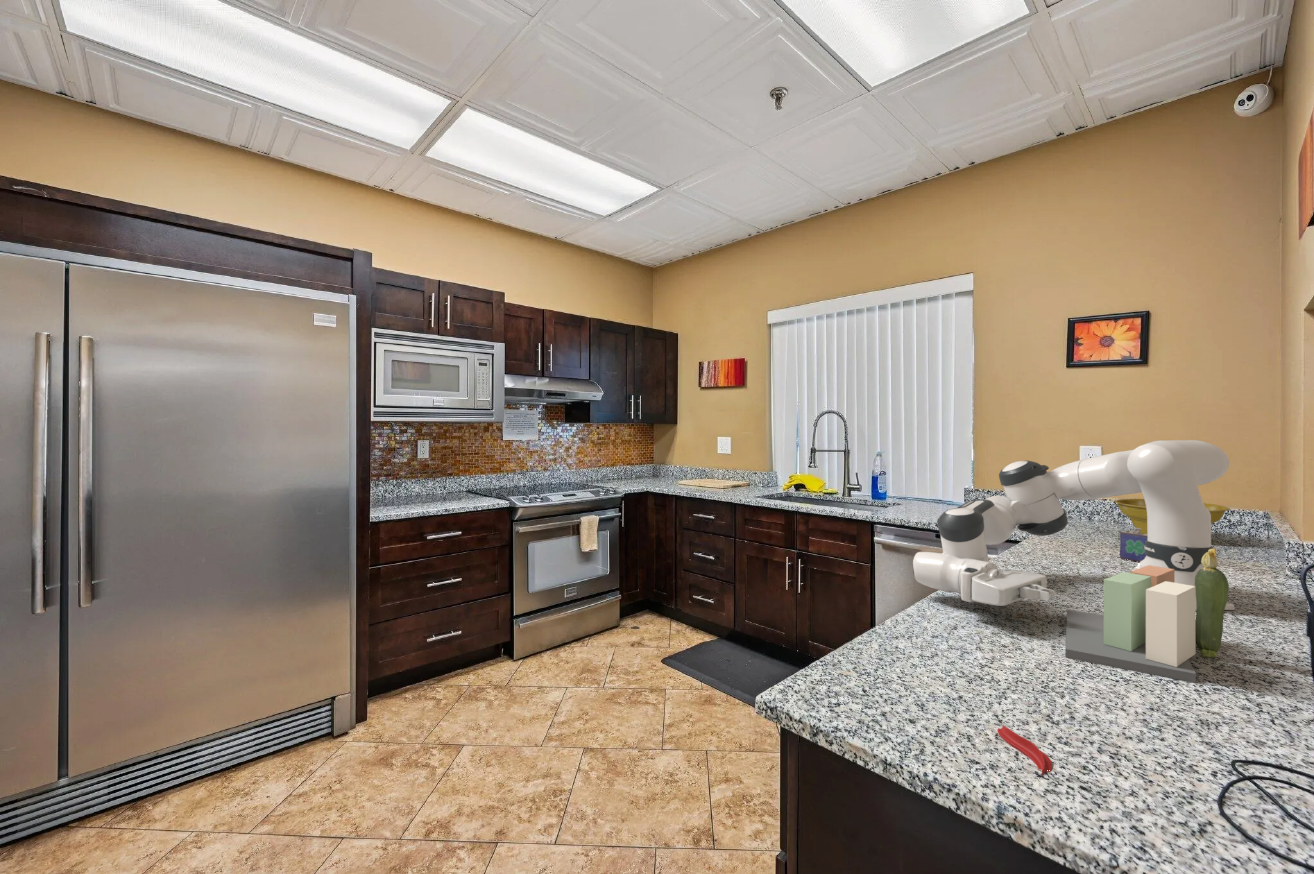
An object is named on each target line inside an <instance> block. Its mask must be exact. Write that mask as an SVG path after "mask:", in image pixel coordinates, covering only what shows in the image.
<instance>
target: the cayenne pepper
mask: <svg viewBox="0 0 1314 874" xmlns="http://www.w3.org/2000/svg"><path fill="white" fill-rule="evenodd" d="M996 730H997V734H998V736H999V737H1000V738H1001V739H1002V740H1003V741H1004V742H1005V743H1006V744H1008V745H1009V746H1011V747H1012V748H1014V749H1015V750H1016V751H1018V752H1020V753H1022V754H1023V755H1024V756H1025V757H1027V758H1028V759H1029V760H1031V761H1032V762H1033V763H1034V765H1036V768H1037V769H1038V770H1041V774H1040V777H1042V776H1043V775H1044V774H1045V773H1047V772H1048V773H1051V772H1052V771H1053V764H1052V760H1051V758H1050V757H1049V756H1048V755H1047V754H1045V753H1044V752H1043V751H1041V750H1040V749H1039V748H1038V746H1037V745H1036V744H1034V743H1033V742H1031V740H1029V739H1027V738H1024V737H1023V736H1021V735H1019V734H1017V733H1016V732H1014V731H1013V730H1011V729H1010V728H1008V727H1007V726H1006V725H1004V724H1002V727H1001V728H997V729H996ZM1047 770H1048V771H1047ZM1049 770H1050V771H1049Z"/></svg>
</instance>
